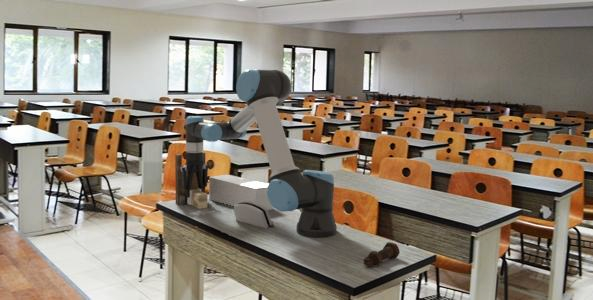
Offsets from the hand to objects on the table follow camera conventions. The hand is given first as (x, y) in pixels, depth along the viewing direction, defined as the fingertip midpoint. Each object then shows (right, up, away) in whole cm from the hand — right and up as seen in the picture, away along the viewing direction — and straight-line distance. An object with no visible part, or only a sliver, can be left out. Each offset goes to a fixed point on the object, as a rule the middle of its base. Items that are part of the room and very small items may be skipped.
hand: (194, 203), depth 242 cm
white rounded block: (+28, -6, -28) cm, 40 cm away
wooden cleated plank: (-2, 0, +4) cm, 4 cm away
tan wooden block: (+1, -1, -1) cm, 2 cm away
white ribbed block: (+20, -1, +3) cm, 20 cm away
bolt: (+72, -13, -68) cm, 99 cm away
